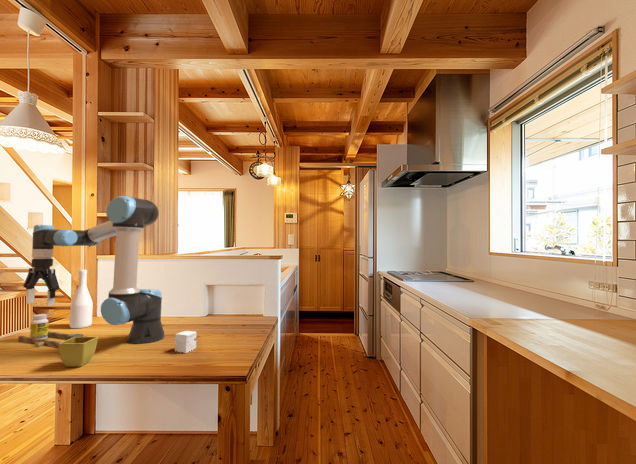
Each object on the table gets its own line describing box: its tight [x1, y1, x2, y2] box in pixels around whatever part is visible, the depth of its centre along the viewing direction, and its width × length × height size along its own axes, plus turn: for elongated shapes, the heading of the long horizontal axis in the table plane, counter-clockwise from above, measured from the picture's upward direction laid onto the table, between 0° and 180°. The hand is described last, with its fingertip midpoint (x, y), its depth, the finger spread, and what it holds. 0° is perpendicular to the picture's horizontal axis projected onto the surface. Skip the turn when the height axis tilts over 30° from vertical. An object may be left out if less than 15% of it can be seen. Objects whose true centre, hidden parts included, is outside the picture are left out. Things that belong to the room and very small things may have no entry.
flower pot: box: [58, 336, 99, 368], centre depth 118 cm, size 9×9×9 cm
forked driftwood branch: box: [17, 330, 88, 348], centre depth 144 cm, size 32×15×4 cm, turn 73°
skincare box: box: [174, 330, 197, 354], centre depth 135 cm, size 6×6×7 cm
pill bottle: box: [29, 313, 50, 340], centre depth 147 cm, size 6×6×11 cm
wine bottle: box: [69, 269, 94, 329], centre depth 170 cm, size 10×10×30 cm
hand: (40, 304), depth 148 cm, fingers open, 13 cm apart
